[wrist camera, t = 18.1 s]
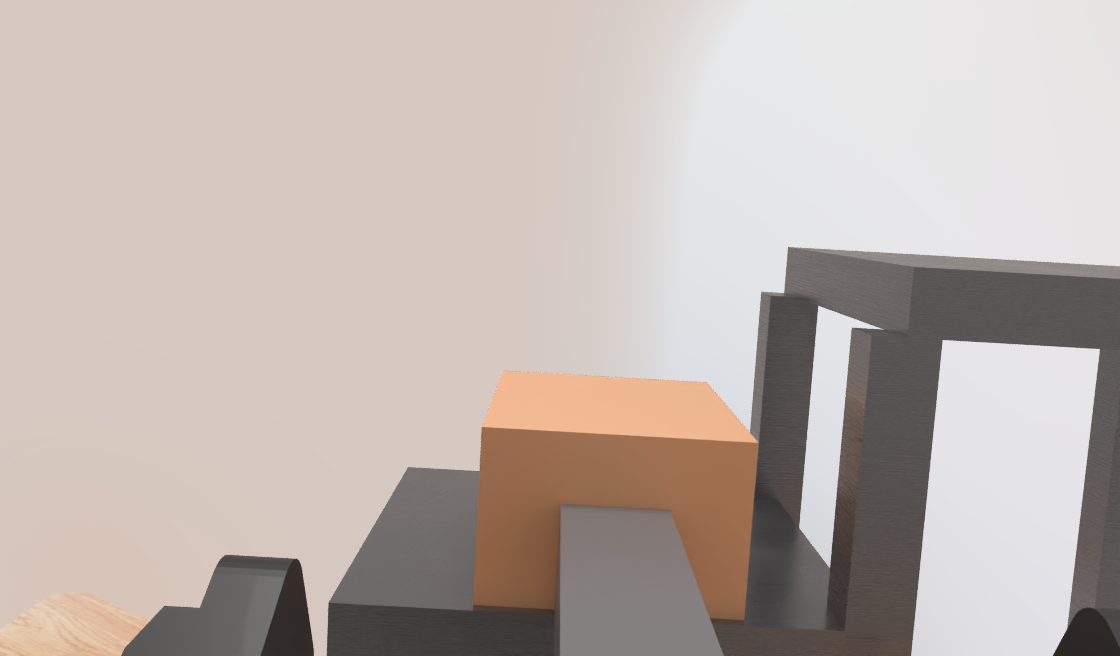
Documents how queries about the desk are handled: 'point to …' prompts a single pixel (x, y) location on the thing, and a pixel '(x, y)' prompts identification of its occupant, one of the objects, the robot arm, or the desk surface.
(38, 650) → the desk surface
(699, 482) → the plug
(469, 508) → the stepped rack
